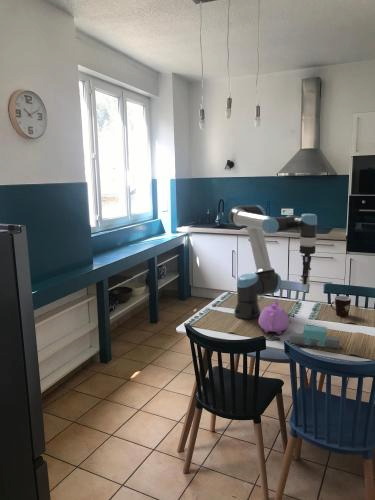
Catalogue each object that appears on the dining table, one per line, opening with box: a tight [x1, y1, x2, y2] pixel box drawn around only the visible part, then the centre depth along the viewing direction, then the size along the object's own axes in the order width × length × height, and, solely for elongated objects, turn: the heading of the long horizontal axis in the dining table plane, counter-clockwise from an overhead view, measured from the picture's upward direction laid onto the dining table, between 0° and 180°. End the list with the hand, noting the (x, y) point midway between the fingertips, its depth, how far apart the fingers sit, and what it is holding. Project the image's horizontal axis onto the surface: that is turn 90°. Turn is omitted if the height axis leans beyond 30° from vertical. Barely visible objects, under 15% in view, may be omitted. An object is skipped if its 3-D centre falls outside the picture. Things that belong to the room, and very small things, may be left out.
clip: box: [302, 325, 327, 346], centre depth 180 cm, size 10×6×8 cm, turn 71°
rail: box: [289, 332, 341, 350], centre depth 181 cm, size 22×4×4 cm, turn 71°
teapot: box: [258, 298, 290, 335], centre depth 200 cm, size 22×16×14 cm
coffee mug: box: [330, 295, 352, 318], centre depth 218 cm, size 12×9×10 cm
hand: (305, 286), depth 196 cm, fingers open, 13 cm apart
